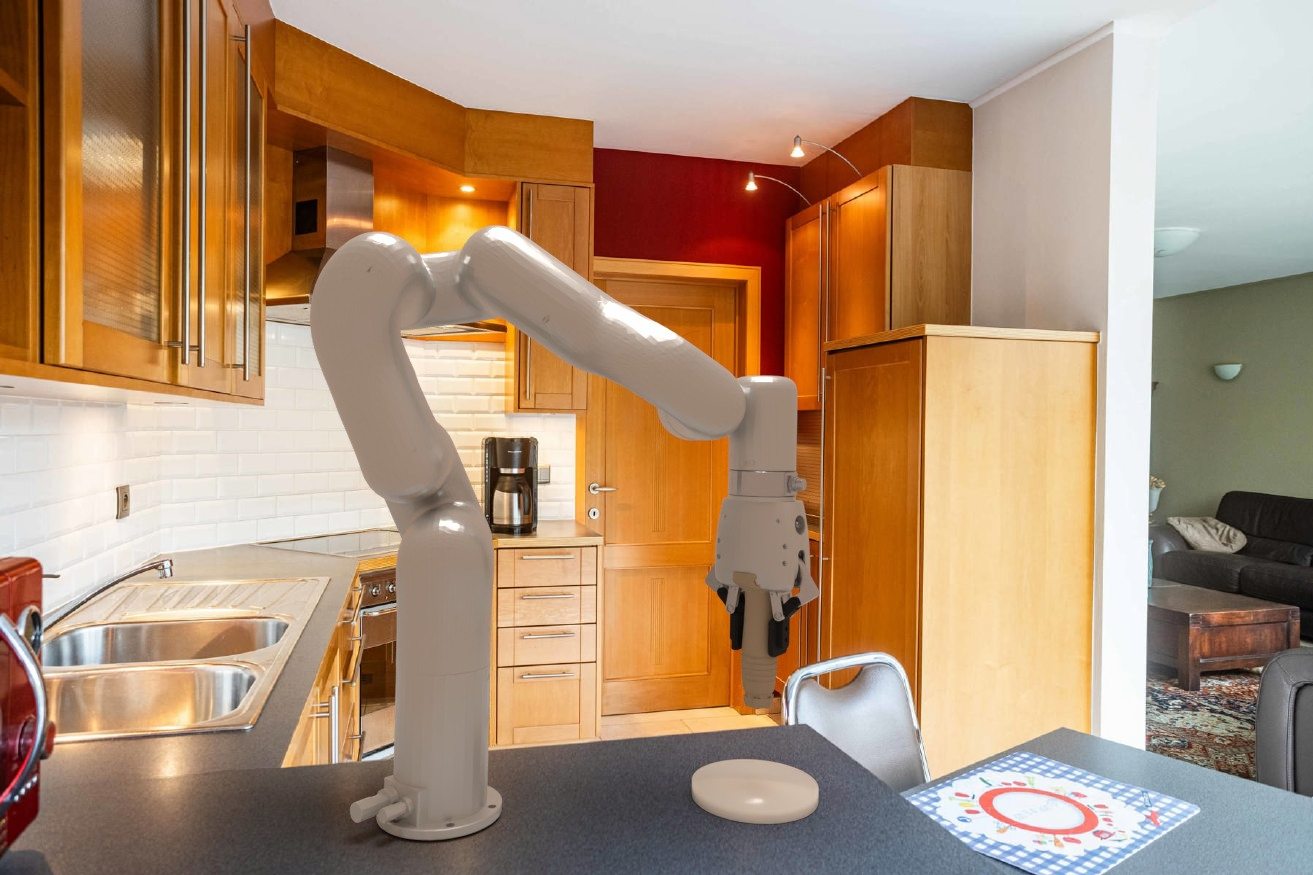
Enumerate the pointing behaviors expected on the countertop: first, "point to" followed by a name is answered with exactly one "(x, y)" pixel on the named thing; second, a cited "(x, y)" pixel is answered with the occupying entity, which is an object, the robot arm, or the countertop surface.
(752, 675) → the handle
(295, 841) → the countertop surface
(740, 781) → the plate
